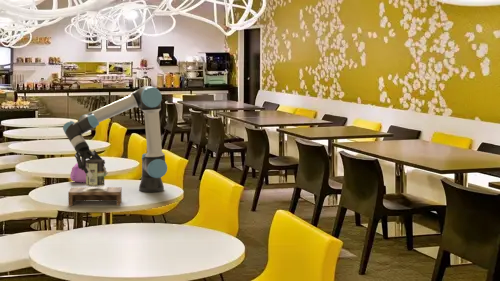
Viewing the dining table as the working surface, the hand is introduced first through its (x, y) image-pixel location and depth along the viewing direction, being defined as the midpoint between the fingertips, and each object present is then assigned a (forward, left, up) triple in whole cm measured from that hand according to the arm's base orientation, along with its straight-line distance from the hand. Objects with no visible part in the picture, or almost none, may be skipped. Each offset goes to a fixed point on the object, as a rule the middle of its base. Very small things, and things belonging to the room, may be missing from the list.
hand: (98, 176), depth 384 cm
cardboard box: (+2, -2, -16) cm, 16 cm away
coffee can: (+2, -2, -6) cm, 6 cm away
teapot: (+13, -68, -16) cm, 71 cm away
